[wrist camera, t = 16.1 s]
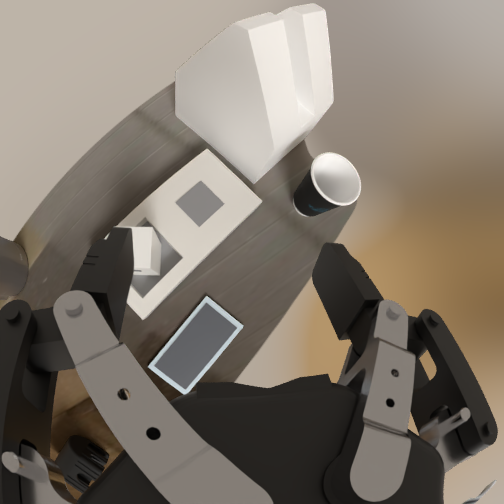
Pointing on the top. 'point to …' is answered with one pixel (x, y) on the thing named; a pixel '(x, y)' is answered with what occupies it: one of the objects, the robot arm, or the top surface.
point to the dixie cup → (327, 185)
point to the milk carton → (258, 87)
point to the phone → (195, 346)
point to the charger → (146, 251)
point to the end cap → (81, 462)
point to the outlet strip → (187, 224)
